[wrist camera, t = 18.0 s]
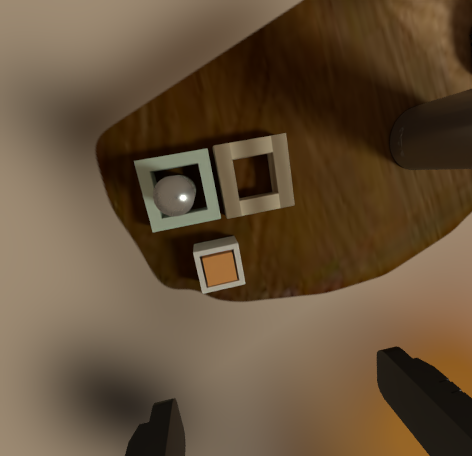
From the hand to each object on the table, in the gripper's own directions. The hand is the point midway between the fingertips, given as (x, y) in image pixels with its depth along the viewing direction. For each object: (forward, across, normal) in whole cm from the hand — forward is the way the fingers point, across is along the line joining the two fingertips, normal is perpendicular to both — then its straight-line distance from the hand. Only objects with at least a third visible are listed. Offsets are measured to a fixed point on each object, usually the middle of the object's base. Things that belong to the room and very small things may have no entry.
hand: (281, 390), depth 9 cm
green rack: (+27, +5, -7) cm, 29 cm away
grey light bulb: (+27, +5, -7) cm, 29 cm away
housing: (+27, +2, +4) cm, 28 cm away
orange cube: (+27, +2, +4) cm, 27 cm away
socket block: (+27, -5, -7) cm, 29 cm away
